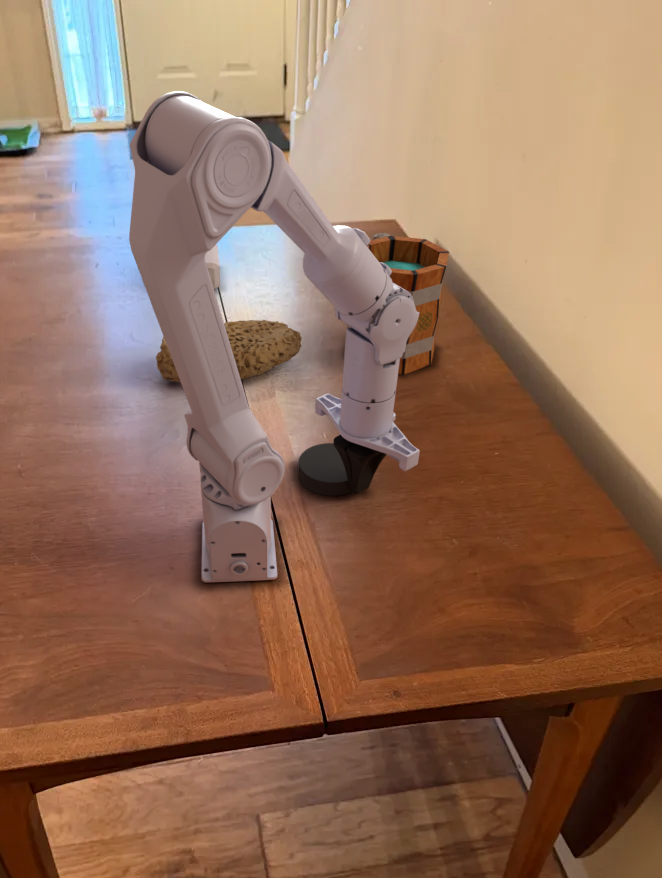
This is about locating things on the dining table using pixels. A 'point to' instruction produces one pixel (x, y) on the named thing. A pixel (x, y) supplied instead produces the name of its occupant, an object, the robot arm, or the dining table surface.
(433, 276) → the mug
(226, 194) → the robot arm
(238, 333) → the sponge
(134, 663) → the dining table surface
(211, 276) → the charger
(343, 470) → the puck
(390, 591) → the dining table surface
